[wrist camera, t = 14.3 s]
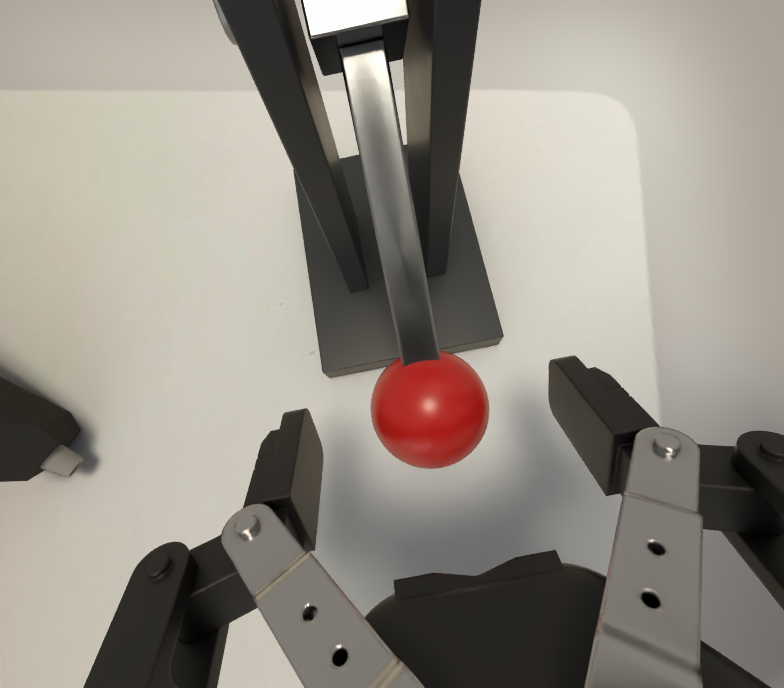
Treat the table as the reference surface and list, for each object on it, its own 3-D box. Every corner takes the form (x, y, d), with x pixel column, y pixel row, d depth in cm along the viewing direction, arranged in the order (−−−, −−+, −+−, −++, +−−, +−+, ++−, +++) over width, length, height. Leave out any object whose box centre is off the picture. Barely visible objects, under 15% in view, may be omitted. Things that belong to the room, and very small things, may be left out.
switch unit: (498, 344, 21) (692, 69, 6) (329, 378, 21) (97, 195, 6) (447, 153, 24) (489, -344, 9) (300, 184, 25) (101, -252, 9)
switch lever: (480, 420, 15) (511, 481, 11) (382, 439, 15) (384, 505, 11) (408, -60, 11) (423, -194, 7) (273, -30, 11) (225, -149, 7)
